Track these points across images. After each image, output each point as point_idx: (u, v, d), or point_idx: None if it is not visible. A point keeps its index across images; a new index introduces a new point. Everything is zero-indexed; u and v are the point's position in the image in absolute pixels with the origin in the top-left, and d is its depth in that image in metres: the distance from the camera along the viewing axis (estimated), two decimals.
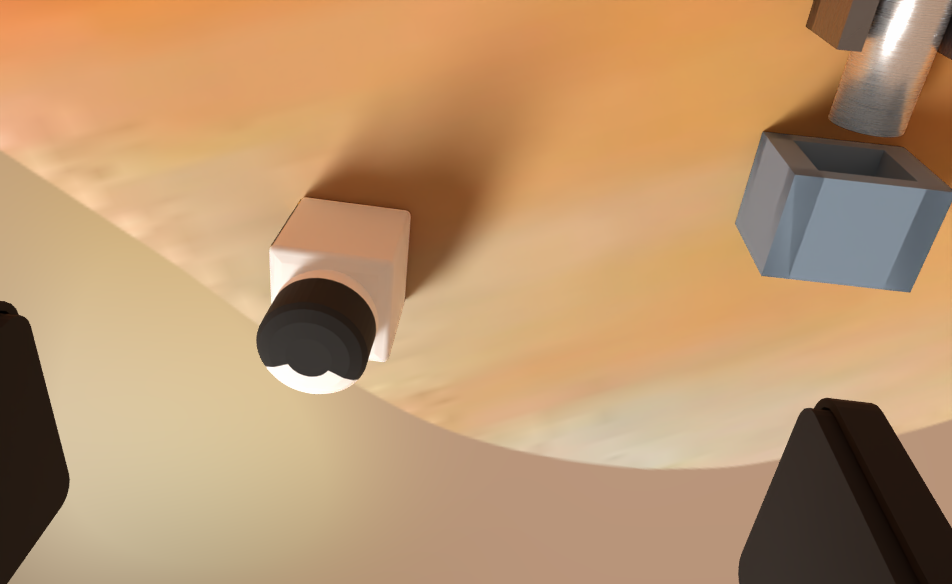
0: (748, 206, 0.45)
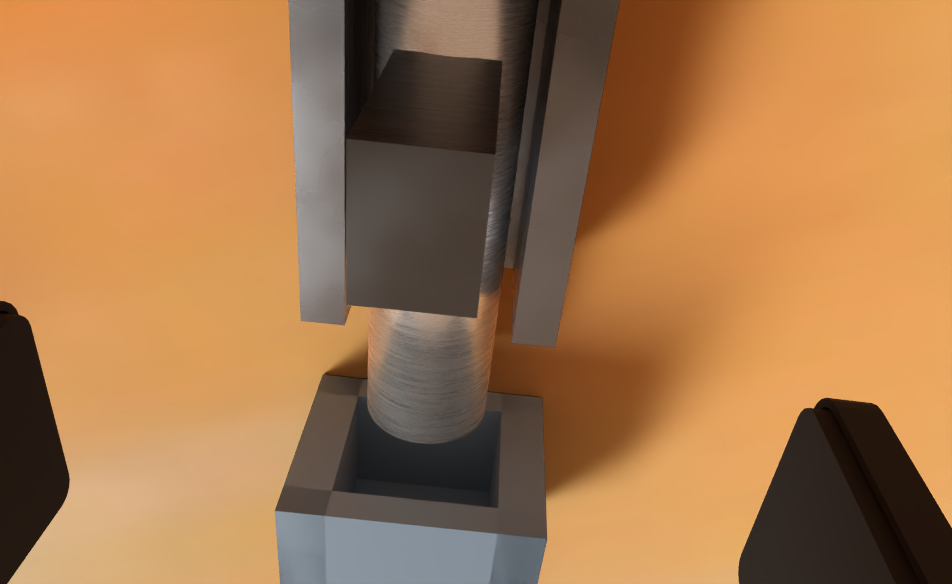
0: None
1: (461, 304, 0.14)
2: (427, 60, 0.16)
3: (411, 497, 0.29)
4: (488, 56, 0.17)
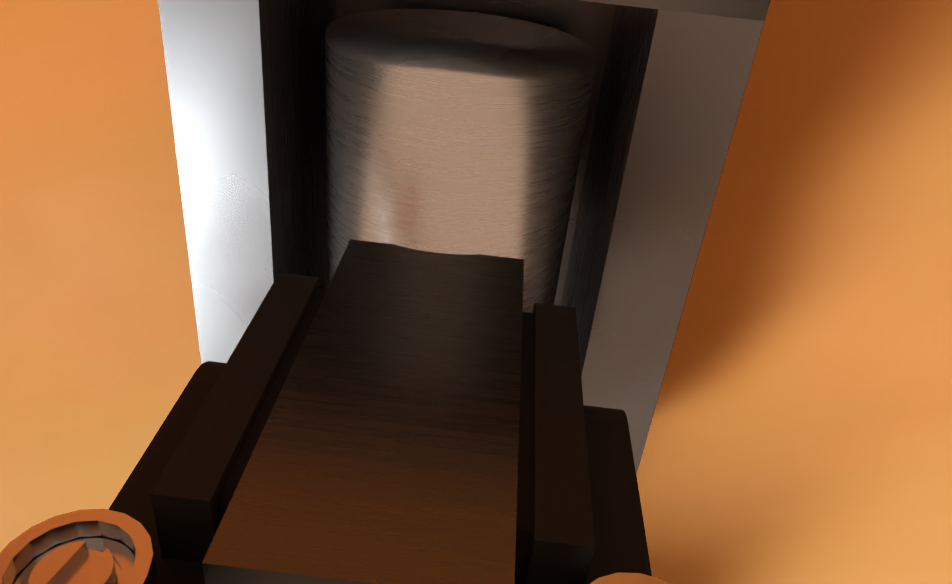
0: None
1: None
2: (401, 265, 0.10)
3: None
4: (501, 251, 0.10)
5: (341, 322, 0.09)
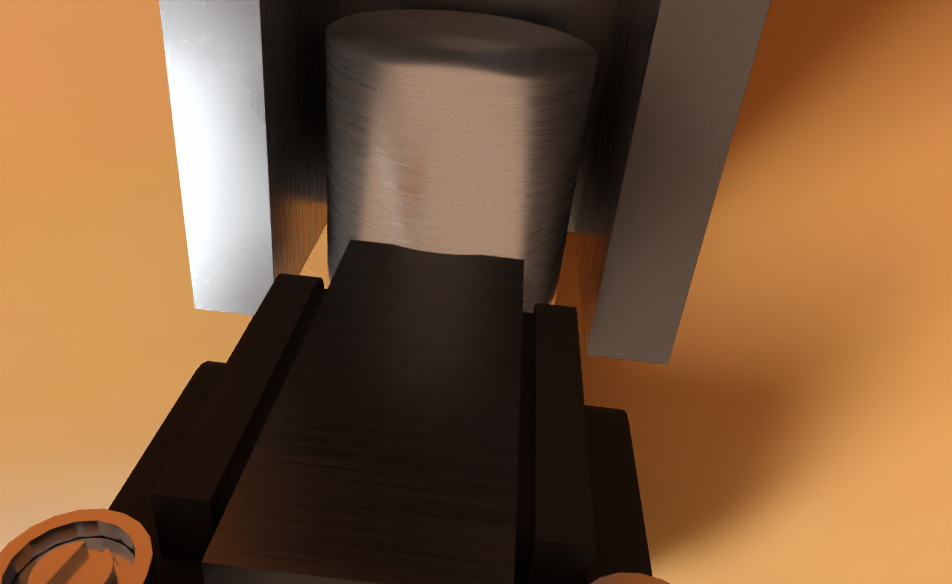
0: None
1: None
2: (400, 265, 0.10)
3: None
4: (501, 252, 0.10)
5: (341, 322, 0.09)
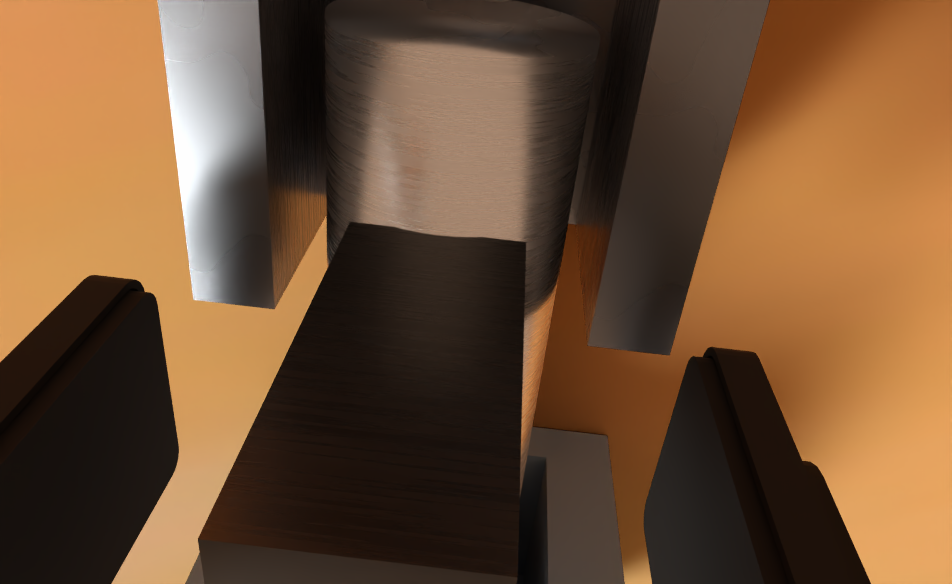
0: None
1: None
2: (401, 247, 0.10)
3: None
4: (503, 234, 0.10)
5: (341, 302, 0.09)
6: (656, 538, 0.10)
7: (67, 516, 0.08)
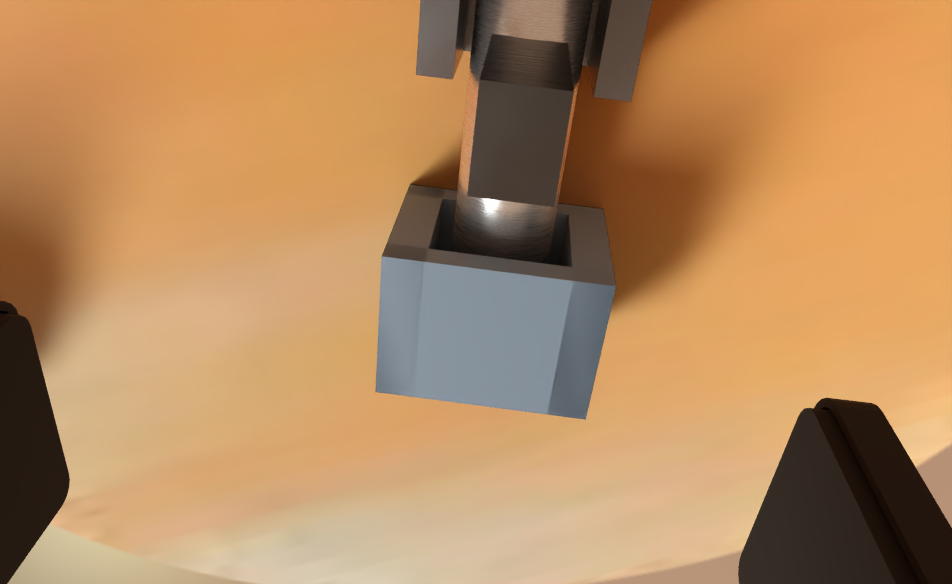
0: None
1: (544, 196, 0.21)
2: (516, 40, 0.23)
3: None
4: (558, 40, 0.24)
5: (498, 49, 0.22)
6: None
7: None
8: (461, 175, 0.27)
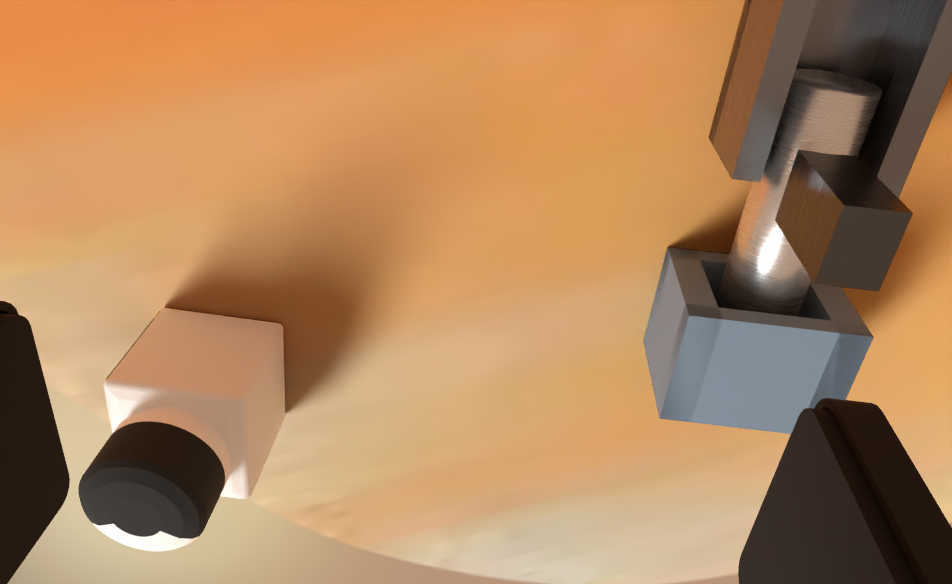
0: (653, 328, 0.40)
1: (873, 284, 0.28)
2: (821, 156, 0.30)
3: None
4: (848, 154, 0.31)
5: (821, 169, 0.29)
6: None
7: None
8: (742, 248, 0.35)
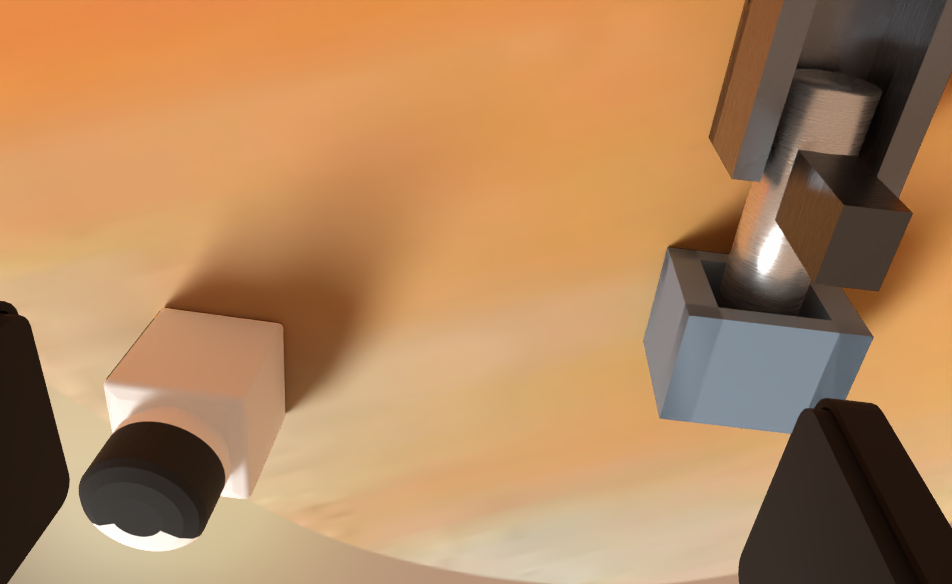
0: (653, 328, 0.40)
1: (873, 284, 0.28)
2: (821, 156, 0.30)
3: None
4: (848, 154, 0.31)
5: (821, 169, 0.29)
6: None
7: None
8: (742, 248, 0.35)
